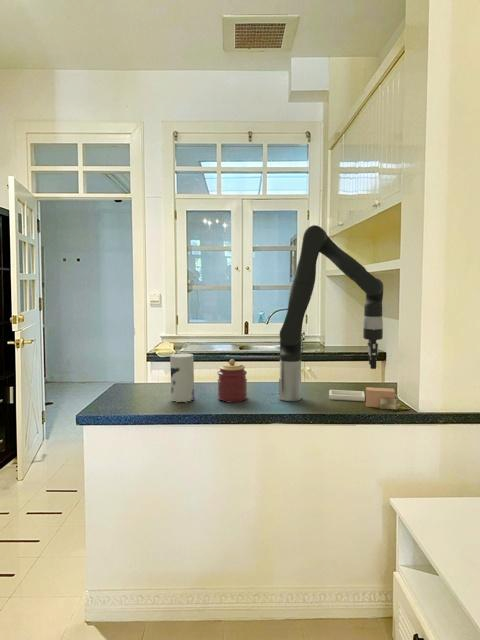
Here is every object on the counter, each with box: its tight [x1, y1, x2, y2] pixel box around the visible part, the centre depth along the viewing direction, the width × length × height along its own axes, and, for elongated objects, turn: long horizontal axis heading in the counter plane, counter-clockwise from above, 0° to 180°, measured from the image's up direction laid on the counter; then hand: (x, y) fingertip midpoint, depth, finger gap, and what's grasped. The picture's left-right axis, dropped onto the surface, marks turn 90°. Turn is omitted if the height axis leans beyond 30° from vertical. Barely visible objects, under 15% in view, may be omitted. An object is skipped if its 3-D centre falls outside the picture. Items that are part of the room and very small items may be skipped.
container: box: [169, 353, 195, 401], centre depth 188 cm, size 10×10×20 cm
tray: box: [328, 389, 366, 402], centre depth 189 cm, size 15×9×2 cm, turn 76°
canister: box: [217, 358, 248, 403], centre depth 189 cm, size 13×13×18 cm
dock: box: [379, 393, 400, 410], centre depth 176 cm, size 7×8×4 cm
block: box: [365, 386, 396, 409], centre depth 176 cm, size 11×5×7 cm, turn 74°
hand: (372, 366), depth 176 cm, fingers open, 8 cm apart
